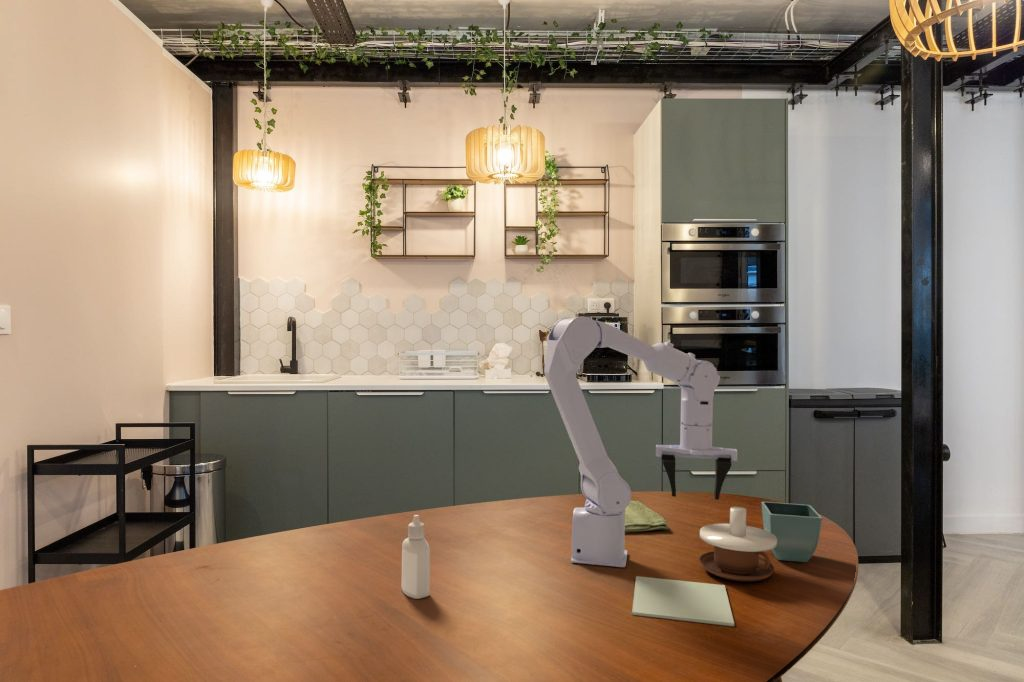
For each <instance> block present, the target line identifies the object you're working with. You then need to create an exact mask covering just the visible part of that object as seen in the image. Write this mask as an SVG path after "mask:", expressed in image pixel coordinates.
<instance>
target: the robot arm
mask: <svg viewBox="0 0 1024 682" xmlns="http://www.w3.org/2000/svg"><path fill="white" fill-rule="evenodd" d="M546 343H547V347H546V355H545V360H544V361H545V362H544V368H543V369H544V370H543V373H544V376H545V379H546V382H547V385H548V387H549V389H550V392H551V394H552V397H553V399H554V402H555V404H556V407H557V409H558V412H559V414H560V417H561V419H562V422H563V424H564V427H565V429H566V432H567V434H568V437H569V440H570V441H571V443H572V446H573V449H574V451H575V455H576V456H577V459H578V461H579V465H578V472H579V474H580V489H581V492H582V494H583V496H584V497H585V498H586V499H585V503H584V506H583V507H580V506H579V507H574V508H573V513H572V522H571V523H572V524H571V543H570V544H571V558H570V562H571V563H577V564H583V565H585V564H586V565H594V566H595V565H597V566H606V567H617V568H625V567H626V564H627V559H628V552H629V551H628V550H627V549H625V547H626V545H625V541H626V540H625V538H626V537H625V535H626V533H625V508H626V507H627V506H628V504H629V503H630V501H632V500H631V499H632V490H631V487H630V485H629V484H628V482H627V481H626V480H624V479H623V478H622V477H621V475H620V474H619V472H618V468H617V467H616V465H615V464H614V463H613V461H612V460H611V458H609V456H608V453H607V451H606V449H605V446H604V443H603V441H602V439H601V435H600V433H599V431H598V428H597V426H596V424H595V421H594V418H593V416H592V412H591V411H590V408H589V405H588V403H587V400H586V398H585V395H584V393H583V391H582V388H581V384H580V383H579V380H578V378H577V373H578V371H579V369H580V366H581V365H582V363H583V361H584V360H585V359H586V358H587V357H588V356H589V355H590V354H591V353H592V352H593V351H594V350H595V349H596V348H600V349H601V348H610V349H612V350H615V351H617V352H619V353H622V354H625V355H628V356H630V357H633V358H635V359H637V360H640V361H643V363H644V366H645V368H646V371H648V372H651V373H652V374H655V375H658V376H660V377H662V378H664V379H667V380H669V381H671V382H673V383H676V384H677V385H678V387H680V388H681V389H680V425H679V426H680V429H679V430H680V435H679V436H680V438H679V444H656V445H655V457H659V458H660V457H661V462H662V465H663V467H664V470H665V472H666V475H667V478H668V482H669V485H670V489H671V497H673V498H674V497H675V498H676V496H677V489H676V458H685V459H686V458H690V459H706V460H714V461H715V462H714V463H715V465H714V467H715V468H714V469H715V472H714V473H715V474H714V475H715V478H714V489H713V491H714V493H713V497H714V500H716V501H718V500H720V495H721V490H722V487H723V484H724V481H725V479H726V477H727V475H728V473H729V471H730V470H731V468H732V462H738V450H737V448H728V447H726V448H725V447H718V446H713V416H714V415H713V414H714V412H713V408H714V396H715V394H714V393H715V390H716V388H717V387H718V386H719V384H720V380H721V375H719V374H718V370H717V367H715V365H714V364H713V363H712V362H710V361H708V360H702V359H701V360H699V359H696V354H694V353H692V352H688V353H685V352H683V351H682V350H679V349H677V348H675V347H674V346H675V345H674V343H671V342H669V341H664V343H663V342H662V341H661V342H656V343H654V344H649V343H647V342H645V341H643V340H641V339H639V338H637V337H635V336H633V335H631V334H629V333H627V332H625V331H623V330H621V329H619V328H617V327H615V326H613V325H611V324H608V323H605V322H603V321H599V320H594V319H593V318H591V317H588V316H578V317H562V318H560V319H558V320H557V321H556V322H554V324H553V325H552V328H551V329H550V331H549V333H548V335H547V336H546Z"/></svg>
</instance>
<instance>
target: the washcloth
mask: <svg viewBox="0 0 1024 682" xmlns="http://www.w3.org/2000/svg"><path fill="white" fill-rule="evenodd" d="M668 529H669V525H668V521H667V520H665V518H664V517H663V515H661V514H659V513H658V512H657V511H654V510H652V509H650V508H649V507H648V506H647V505H646V504H644V503H642V502H640V501H639V500H630V503H629V504H628V506H627V507H626V508H625V534H626V533H640V532H641V533H642V532H647V531H665V530H668Z"/></svg>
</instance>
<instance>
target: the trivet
mask: <svg viewBox="0 0 1024 682" xmlns="http://www.w3.org/2000/svg"><path fill="white" fill-rule="evenodd" d="M634 583H635V584H634V591H633V601H632V608H631V609H632V611H631V614H632V615H633V616H640V617H647V618H659V619H667V620H675V621H676V620H677V621H685V622H694V623H702V624H709V625H710V624H711V625H718V626H728V627H735V620H734V617H733V612H732V609H731V605H730V601H729V600H730V599H729V597H728V594H727V590H726V585H725V584H717V583H716V584H715V583H707V582H698V581H697V582H696V581H688V580H687V581H686V580H678V579H677V580H676V579H670V578H669V579H668V578H658V577H657V578H655V577H648V576H638V575H637V576H635V582H634Z"/></svg>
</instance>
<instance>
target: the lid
mask: <svg viewBox="0 0 1024 682" xmlns="http://www.w3.org/2000/svg"><path fill="white" fill-rule="evenodd" d="M699 538H700V539H701V540H702V541H704V542H705V543H707V544H709V545H711V546H713V547H714V546H717V547H721V548H725V549H730V550H736V551H746V552H759V551H763V552H766V551H772V550H771V549H773V548H775V547H776V546H777V538H776V536H775V535H773V534H772V533H770V532H768V531H765V530H764V528H763V529H762V528H758V527H755V526H751V525H747V508H745V507H742V506H731V507H730V508H729V523H713V524H707V525H704V526H702V527H701V528H700V529H699Z"/></svg>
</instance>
